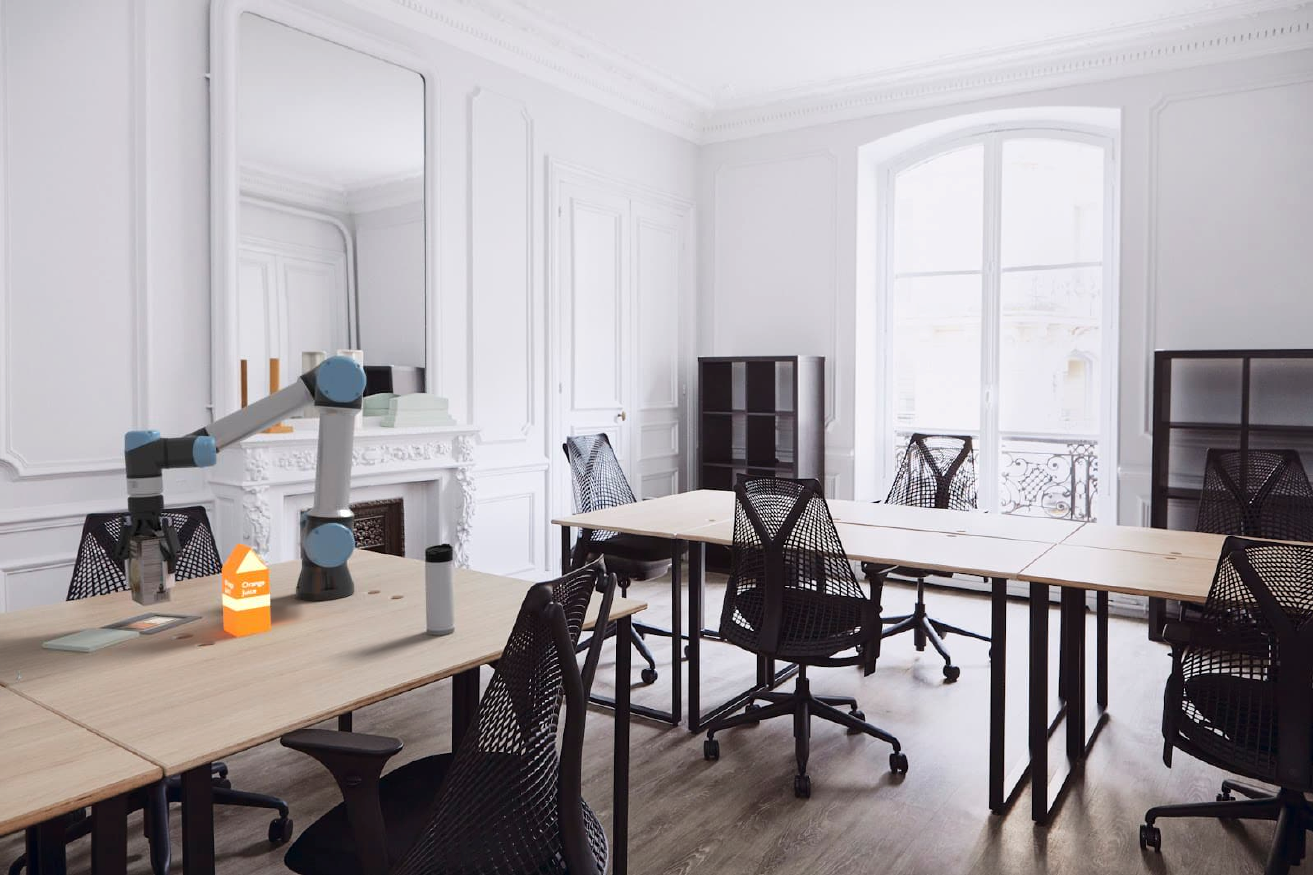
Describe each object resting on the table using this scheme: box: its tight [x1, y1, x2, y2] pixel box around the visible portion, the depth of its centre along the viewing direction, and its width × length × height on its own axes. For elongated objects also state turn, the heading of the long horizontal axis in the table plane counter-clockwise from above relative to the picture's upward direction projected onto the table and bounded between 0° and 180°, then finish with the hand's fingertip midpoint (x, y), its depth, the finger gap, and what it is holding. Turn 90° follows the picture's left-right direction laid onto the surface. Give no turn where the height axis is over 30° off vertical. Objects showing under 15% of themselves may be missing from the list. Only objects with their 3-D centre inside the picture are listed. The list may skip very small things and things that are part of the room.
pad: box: [42, 627, 140, 653], centre depth 201 cm, size 13×13×1 cm
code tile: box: [99, 612, 203, 635], centre depth 216 cm, size 16×15×1 cm
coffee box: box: [128, 534, 172, 607], centre depth 216 cm, size 9×6×16 cm
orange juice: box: [221, 543, 272, 638], centre depth 209 cm, size 8×9×20 cm
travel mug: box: [424, 543, 455, 636], centre depth 206 cm, size 6×7×20 cm
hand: (150, 586), depth 216 cm, fingers closed on coffee box, 10 cm apart
